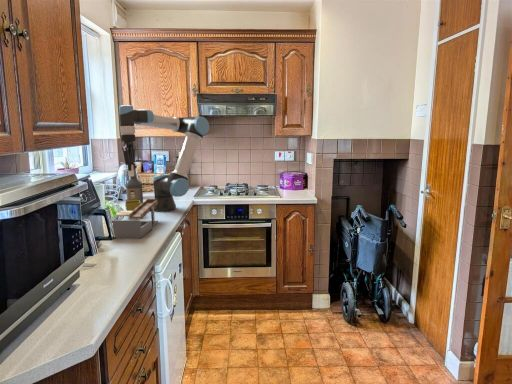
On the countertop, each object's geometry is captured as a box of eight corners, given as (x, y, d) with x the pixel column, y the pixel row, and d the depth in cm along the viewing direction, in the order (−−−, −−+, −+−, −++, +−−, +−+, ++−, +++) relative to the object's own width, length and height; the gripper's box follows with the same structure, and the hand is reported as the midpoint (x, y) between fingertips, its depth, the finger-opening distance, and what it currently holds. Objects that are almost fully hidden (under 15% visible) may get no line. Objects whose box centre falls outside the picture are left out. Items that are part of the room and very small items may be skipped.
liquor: (130, 207, 247) (127, 163, 242) (144, 206, 248) (141, 163, 243) (126, 210, 238) (123, 164, 233) (141, 209, 239) (137, 164, 234)
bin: (124, 229, 192) (123, 213, 191) (152, 229, 191) (151, 213, 190) (111, 238, 178) (109, 220, 176) (141, 238, 176) (139, 220, 175)
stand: (137, 222, 206) (136, 206, 204) (158, 222, 205) (157, 206, 203) (132, 226, 198) (130, 209, 197) (153, 226, 197) (152, 209, 196)
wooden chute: (132, 206, 213) (131, 198, 212) (158, 206, 212) (157, 198, 211) (114, 221, 190) (112, 212, 189) (143, 222, 189) (142, 213, 188)
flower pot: (126, 215, 225) (124, 201, 223) (140, 213, 228) (139, 199, 226) (126, 218, 217) (125, 203, 215) (141, 216, 220) (140, 202, 218)
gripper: (126, 133, 207) (129, 174, 211) (116, 134, 194) (119, 177, 198) (139, 133, 206) (142, 174, 211) (129, 134, 194) (132, 177, 198)
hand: (131, 176), depth 204 cm, fingers closed
